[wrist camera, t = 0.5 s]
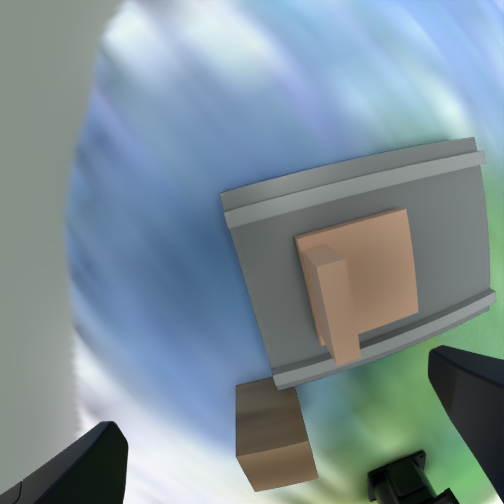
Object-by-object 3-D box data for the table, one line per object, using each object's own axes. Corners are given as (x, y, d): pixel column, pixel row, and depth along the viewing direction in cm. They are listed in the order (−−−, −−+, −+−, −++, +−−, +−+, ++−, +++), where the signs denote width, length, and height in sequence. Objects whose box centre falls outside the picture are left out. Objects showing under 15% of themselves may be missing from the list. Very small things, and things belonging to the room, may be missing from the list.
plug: (301, 410, 22) (318, 478, 16) (250, 423, 22) (255, 491, 16) (290, 372, 21) (308, 440, 15) (235, 385, 22) (235, 456, 15)
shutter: (412, 306, 17) (445, 334, 13) (318, 339, 17) (336, 376, 14) (399, 207, 16) (437, 216, 12) (294, 236, 16) (310, 253, 12)
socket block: (466, 296, 21) (494, 313, 17) (273, 365, 21) (279, 397, 18) (448, 140, 18) (481, 136, 15) (222, 191, 19) (218, 194, 15)
